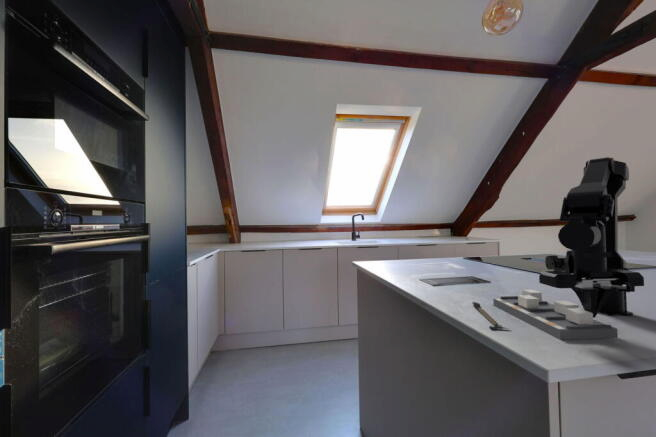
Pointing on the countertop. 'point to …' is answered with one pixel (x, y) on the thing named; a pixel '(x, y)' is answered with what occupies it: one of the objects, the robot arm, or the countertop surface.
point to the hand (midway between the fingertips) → (590, 317)
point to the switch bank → (554, 320)
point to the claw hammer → (488, 318)
